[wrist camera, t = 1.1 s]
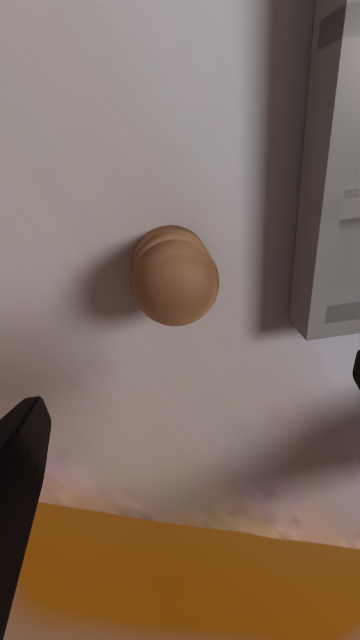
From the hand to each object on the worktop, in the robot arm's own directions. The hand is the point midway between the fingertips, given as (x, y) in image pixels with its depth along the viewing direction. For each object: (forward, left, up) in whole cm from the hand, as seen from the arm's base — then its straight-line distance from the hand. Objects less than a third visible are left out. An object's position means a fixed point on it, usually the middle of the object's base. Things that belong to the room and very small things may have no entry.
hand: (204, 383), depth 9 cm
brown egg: (0, 0, -11) cm, 11 cm away
